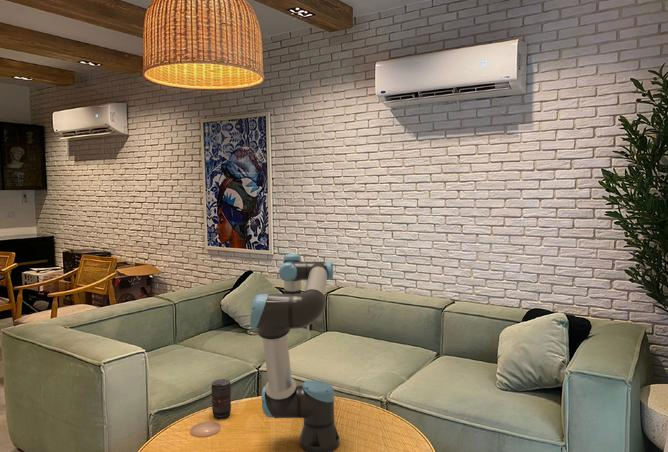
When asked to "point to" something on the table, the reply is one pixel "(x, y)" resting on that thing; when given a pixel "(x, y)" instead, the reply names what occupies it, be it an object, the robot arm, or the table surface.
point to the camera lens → (221, 398)
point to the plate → (205, 429)
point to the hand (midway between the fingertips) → (293, 337)
